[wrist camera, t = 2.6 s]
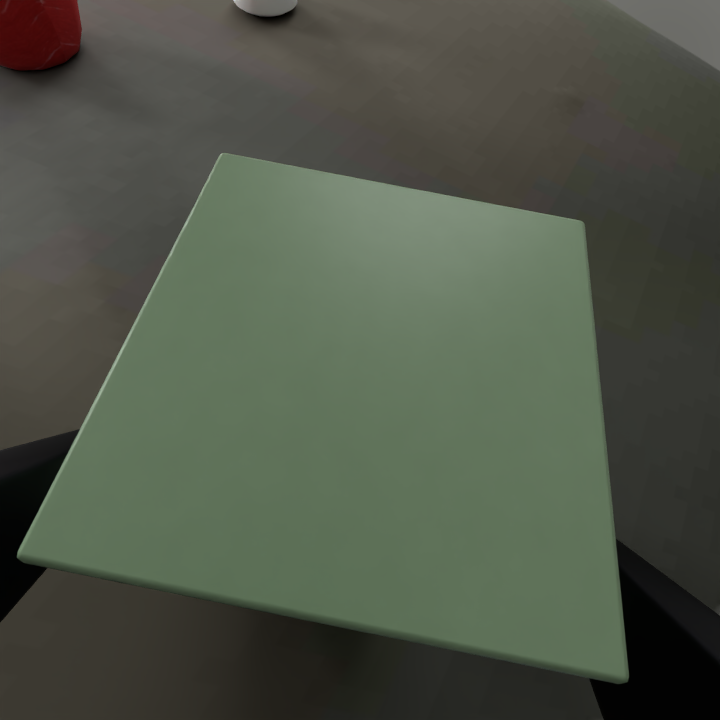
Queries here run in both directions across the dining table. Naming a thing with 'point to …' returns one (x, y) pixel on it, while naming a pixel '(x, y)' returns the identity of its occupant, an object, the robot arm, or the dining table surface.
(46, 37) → the water bottle
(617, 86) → the dining table surface
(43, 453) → the robot arm
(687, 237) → the dining table surface
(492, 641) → the block
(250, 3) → the white jar
